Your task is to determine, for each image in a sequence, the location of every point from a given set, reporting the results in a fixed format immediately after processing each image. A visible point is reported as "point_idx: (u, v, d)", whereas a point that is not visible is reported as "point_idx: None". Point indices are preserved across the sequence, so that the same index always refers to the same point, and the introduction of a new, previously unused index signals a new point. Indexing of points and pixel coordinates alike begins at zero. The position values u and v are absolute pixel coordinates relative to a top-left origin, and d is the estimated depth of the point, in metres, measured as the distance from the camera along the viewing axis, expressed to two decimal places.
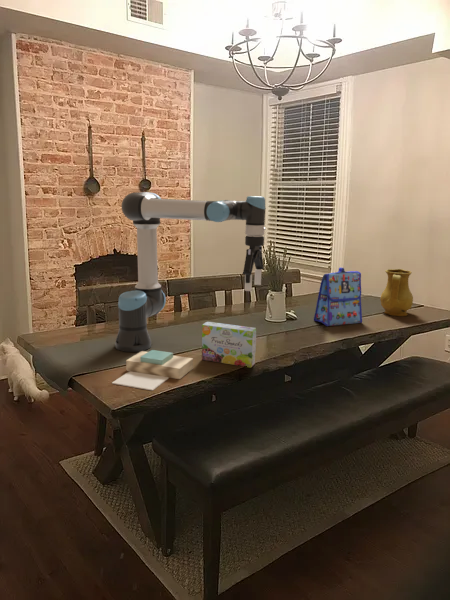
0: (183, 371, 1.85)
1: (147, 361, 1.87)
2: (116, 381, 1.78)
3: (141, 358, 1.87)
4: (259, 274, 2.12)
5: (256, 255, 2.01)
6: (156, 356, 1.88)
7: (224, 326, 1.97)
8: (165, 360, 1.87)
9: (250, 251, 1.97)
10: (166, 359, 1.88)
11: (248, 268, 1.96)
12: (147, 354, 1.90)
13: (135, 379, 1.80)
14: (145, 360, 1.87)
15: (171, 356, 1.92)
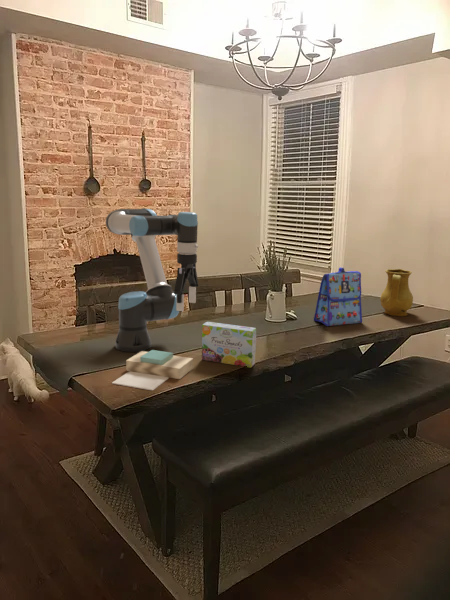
0: (183, 371, 1.85)
1: (147, 361, 1.87)
2: (116, 381, 1.78)
3: (141, 358, 1.87)
4: (193, 292, 2.04)
5: (188, 273, 1.93)
6: (156, 356, 1.88)
7: (224, 326, 1.97)
8: (165, 360, 1.87)
9: (181, 270, 1.89)
10: (166, 359, 1.88)
11: (179, 288, 1.88)
12: (147, 354, 1.90)
13: (135, 379, 1.80)
14: (145, 360, 1.87)
15: (171, 356, 1.92)
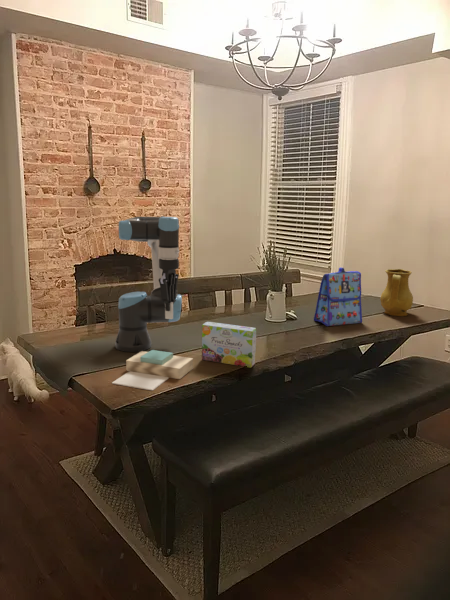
0: (183, 371, 1.85)
1: (147, 361, 1.87)
2: (116, 381, 1.78)
3: (141, 358, 1.87)
4: None
5: (171, 280, 1.92)
6: (156, 356, 1.88)
7: (224, 326, 1.97)
8: (165, 360, 1.87)
9: (162, 281, 1.88)
10: (166, 359, 1.88)
11: (165, 297, 1.91)
12: (147, 354, 1.90)
13: (135, 379, 1.80)
14: (145, 360, 1.87)
15: (171, 356, 1.92)
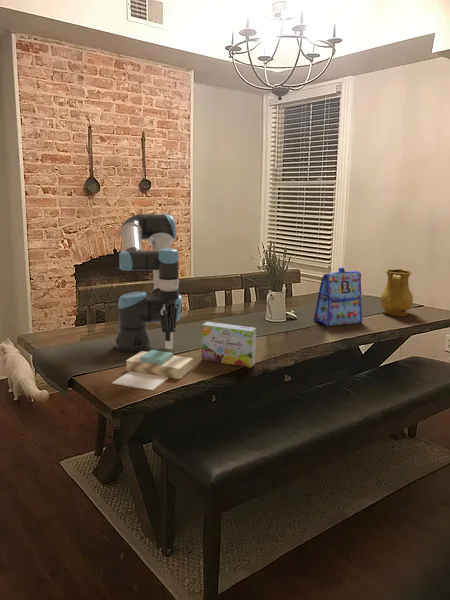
0: (183, 371, 1.85)
1: (147, 361, 1.87)
2: (116, 381, 1.78)
3: (141, 358, 1.87)
4: None
5: (171, 311, 1.94)
6: (156, 356, 1.88)
7: (224, 326, 1.97)
8: (165, 360, 1.87)
9: (162, 313, 1.90)
10: (166, 359, 1.88)
11: (165, 328, 1.94)
12: (147, 354, 1.90)
13: (135, 379, 1.80)
14: (145, 360, 1.87)
15: (171, 356, 1.92)
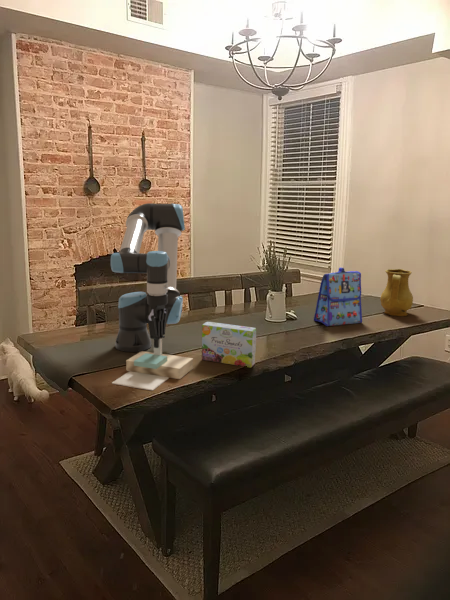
0: (183, 371, 1.85)
1: (141, 365, 1.82)
2: (116, 381, 1.78)
3: (135, 362, 1.83)
4: None
5: (159, 316, 1.85)
6: (150, 360, 1.84)
7: (224, 326, 1.97)
8: (159, 364, 1.82)
9: (150, 318, 1.81)
10: (160, 363, 1.84)
11: (154, 334, 1.85)
12: (141, 358, 1.86)
13: (135, 379, 1.80)
14: (139, 364, 1.83)
15: (165, 360, 1.87)
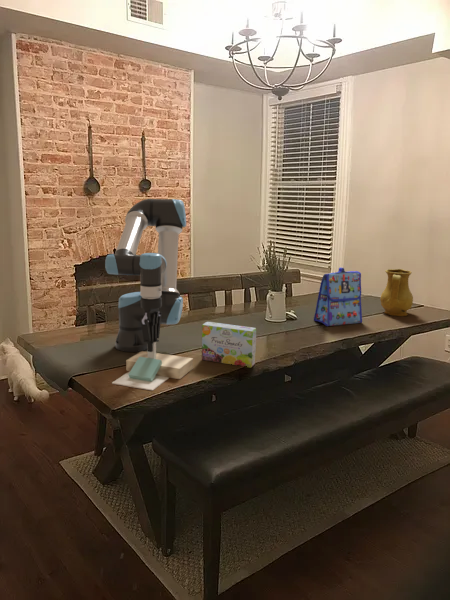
0: (183, 371, 1.85)
1: (136, 378, 1.80)
2: (116, 381, 1.78)
3: (129, 375, 1.80)
4: None
5: (153, 319, 1.81)
6: (144, 370, 1.81)
7: (224, 326, 1.97)
8: (153, 375, 1.79)
9: (144, 322, 1.77)
10: (155, 372, 1.80)
11: (147, 338, 1.81)
12: (135, 367, 1.82)
13: (135, 379, 1.80)
14: (134, 377, 1.80)
15: (160, 364, 1.83)
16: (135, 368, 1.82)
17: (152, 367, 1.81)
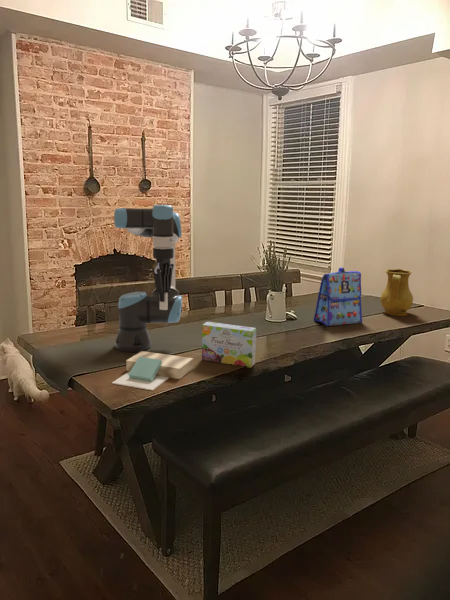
0: (183, 371, 1.85)
1: (136, 378, 1.80)
2: (116, 381, 1.78)
3: (129, 375, 1.80)
4: None
5: (165, 270, 1.87)
6: (144, 370, 1.81)
7: (224, 326, 1.97)
8: (153, 375, 1.79)
9: (156, 271, 1.83)
10: (155, 372, 1.80)
11: (160, 288, 1.86)
12: (135, 367, 1.82)
13: (135, 379, 1.80)
14: (134, 377, 1.80)
15: (160, 364, 1.83)
16: (135, 368, 1.82)
17: (152, 367, 1.81)
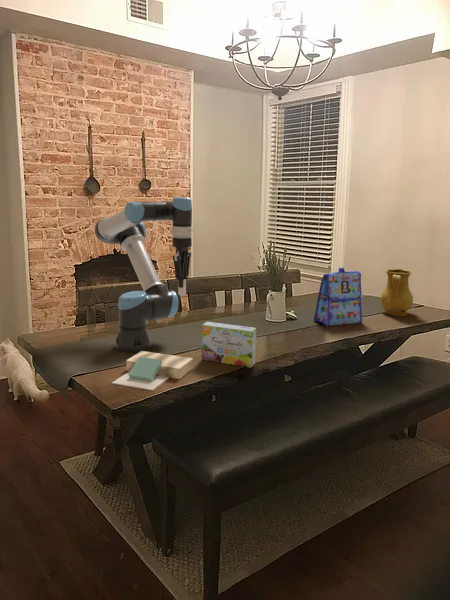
0: (183, 371, 1.85)
1: (136, 378, 1.80)
2: (116, 381, 1.78)
3: (129, 375, 1.80)
4: None
5: (184, 257, 2.01)
6: (144, 370, 1.81)
7: (224, 326, 1.97)
8: (153, 375, 1.79)
9: (176, 259, 1.97)
10: (155, 372, 1.80)
11: (179, 274, 2.01)
12: (135, 367, 1.82)
13: (135, 379, 1.80)
14: (134, 377, 1.80)
15: (160, 364, 1.83)
16: (135, 368, 1.82)
17: (152, 367, 1.81)
